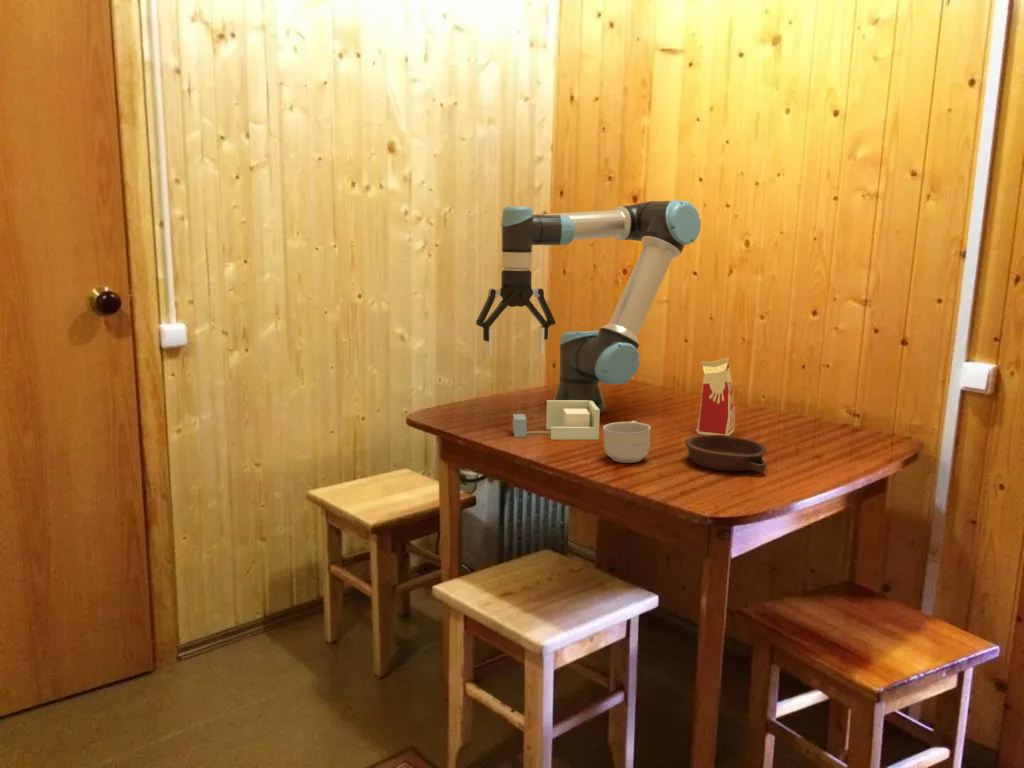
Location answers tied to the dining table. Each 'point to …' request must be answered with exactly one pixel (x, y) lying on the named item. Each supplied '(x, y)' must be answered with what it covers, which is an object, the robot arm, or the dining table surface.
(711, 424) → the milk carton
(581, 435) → the shelf lane
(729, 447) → the dish
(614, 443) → the teacup
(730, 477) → the dining table surface
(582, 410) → the tethered block
